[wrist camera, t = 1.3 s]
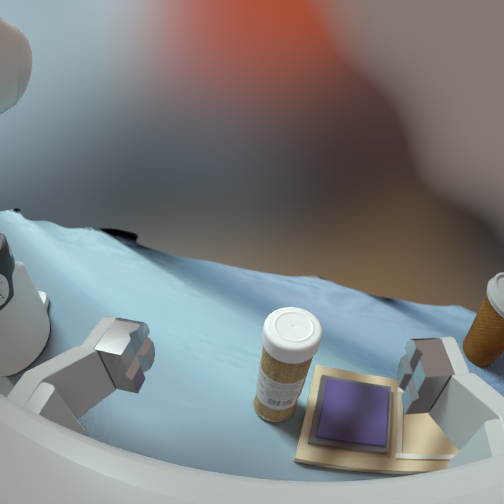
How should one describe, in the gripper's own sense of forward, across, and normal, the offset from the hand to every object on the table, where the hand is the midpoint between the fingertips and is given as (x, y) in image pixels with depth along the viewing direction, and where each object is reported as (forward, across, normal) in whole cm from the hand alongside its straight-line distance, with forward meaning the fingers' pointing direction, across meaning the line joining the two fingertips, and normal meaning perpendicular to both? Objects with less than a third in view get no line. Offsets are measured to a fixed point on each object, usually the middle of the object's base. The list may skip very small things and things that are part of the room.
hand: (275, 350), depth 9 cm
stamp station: (+11, -12, +24) cm, 29 cm away
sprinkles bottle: (+13, +1, +22) cm, 26 cm away
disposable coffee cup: (+23, -30, +25) cm, 45 cm away
